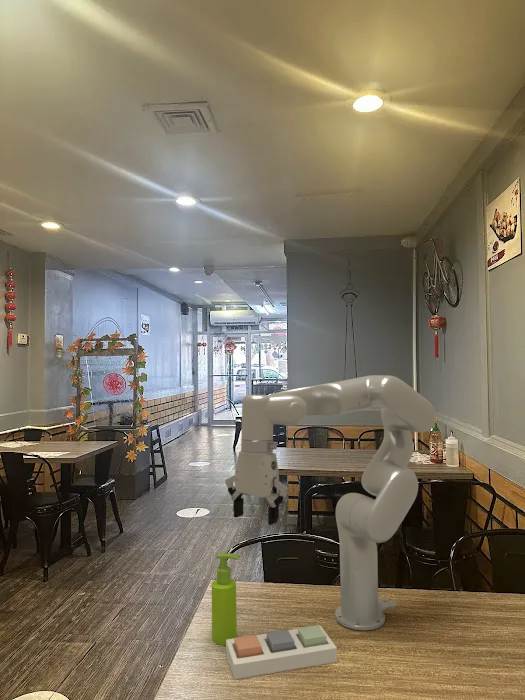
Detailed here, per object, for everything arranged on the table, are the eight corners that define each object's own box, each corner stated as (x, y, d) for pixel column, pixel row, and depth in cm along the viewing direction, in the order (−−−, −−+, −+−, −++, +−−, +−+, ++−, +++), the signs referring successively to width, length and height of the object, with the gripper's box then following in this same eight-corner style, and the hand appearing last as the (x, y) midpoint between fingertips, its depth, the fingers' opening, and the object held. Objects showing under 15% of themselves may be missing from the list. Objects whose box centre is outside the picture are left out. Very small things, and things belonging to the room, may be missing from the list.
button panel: (320, 638, 119) (320, 625, 119) (337, 661, 109) (336, 647, 109) (226, 653, 113) (225, 639, 113) (234, 679, 103) (234, 664, 104)
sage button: (318, 633, 116) (318, 625, 116) (326, 645, 111) (326, 636, 111) (298, 636, 115) (297, 628, 115) (305, 648, 110) (305, 639, 110)
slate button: (287, 638, 114) (287, 629, 114) (294, 650, 109) (294, 641, 110) (266, 641, 113) (266, 632, 113) (272, 653, 108) (272, 644, 108)
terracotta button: (256, 643, 112) (256, 634, 113) (261, 655, 108) (261, 646, 108) (234, 646, 111) (234, 637, 111) (238, 659, 106) (238, 649, 106)
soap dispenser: (237, 646, 116) (236, 559, 116) (209, 644, 117) (208, 557, 118) (243, 633, 121) (242, 550, 122) (216, 631, 123) (215, 549, 124)
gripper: (296, 448, 117) (295, 522, 116) (236, 442, 126) (234, 510, 125) (280, 452, 110) (279, 530, 109) (218, 445, 120) (216, 517, 119)
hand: (255, 519), depth 117 cm, fingers open, 9 cm apart
